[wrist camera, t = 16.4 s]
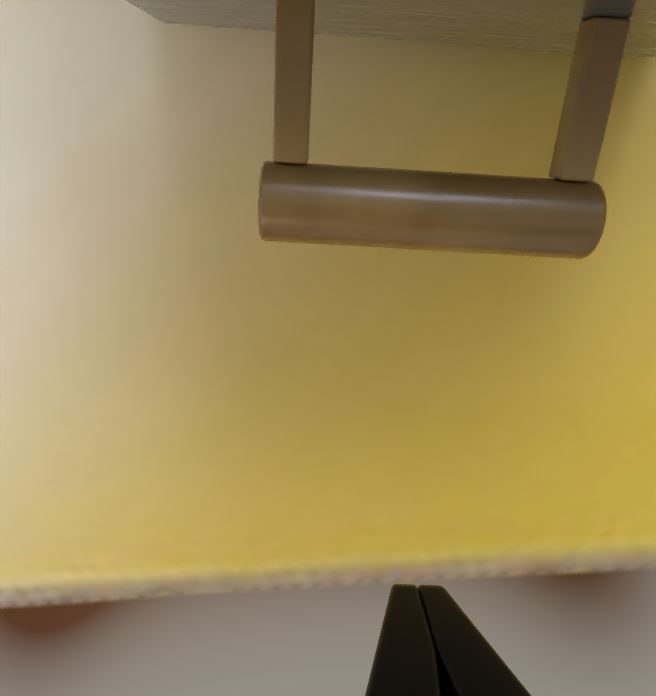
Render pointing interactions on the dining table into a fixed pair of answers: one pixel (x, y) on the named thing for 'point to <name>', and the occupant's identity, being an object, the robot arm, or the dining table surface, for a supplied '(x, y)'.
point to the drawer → (431, 186)
